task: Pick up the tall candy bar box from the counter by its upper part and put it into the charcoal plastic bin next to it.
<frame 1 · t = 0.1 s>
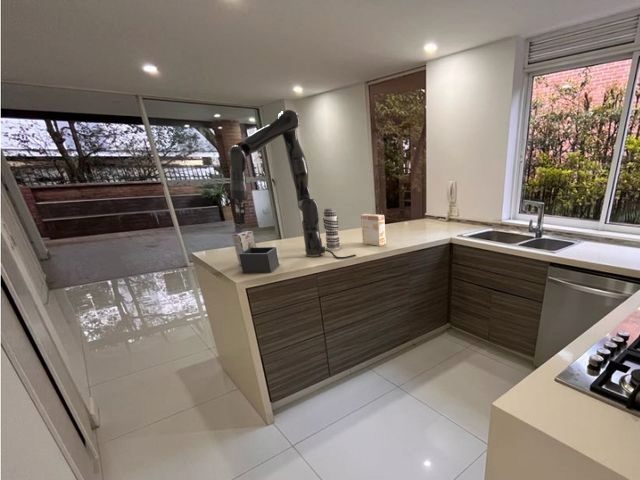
hand: (240, 222, 176), 22 cm above the counter, tool pointing down, fingers open, 8 cm apart
decorative candle: (333, 248, 220), on the counter
candy bar box: (249, 263, 188), on the counter
bin: (261, 268, 177), on the counter
coffeecake box: (374, 244, 232), on the counter
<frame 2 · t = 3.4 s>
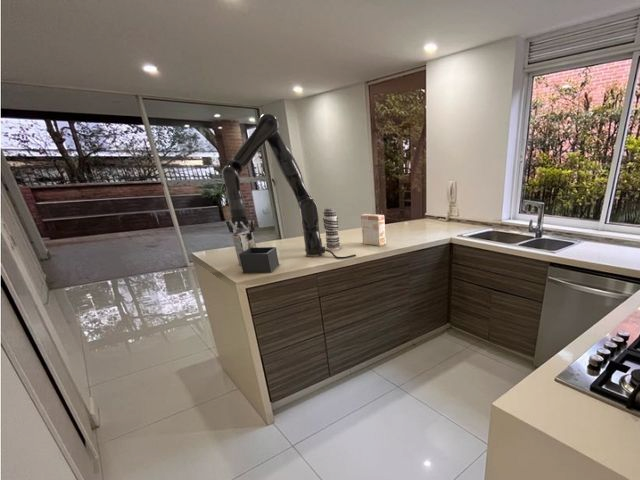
hand: (244, 240, 182), 13 cm above the counter, tool pointing down, fingers closed on candy bar box, 5 cm apart
candy bar box: (249, 263, 188), on the counter, touching gripper
everything else where it was.
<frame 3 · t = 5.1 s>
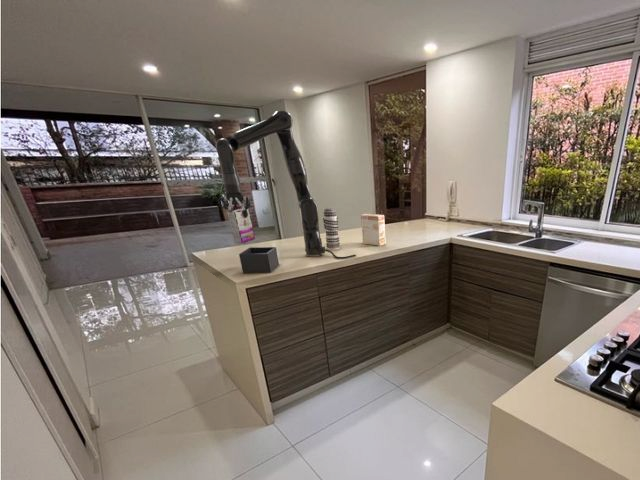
hand: (239, 217, 178), 25 cm above the counter, tool pointing down, fingers closed on candy bar box, 5 cm apart
candy bar box: (245, 241, 183), point 12 cm above the counter, touching gripper
everything else where it was.
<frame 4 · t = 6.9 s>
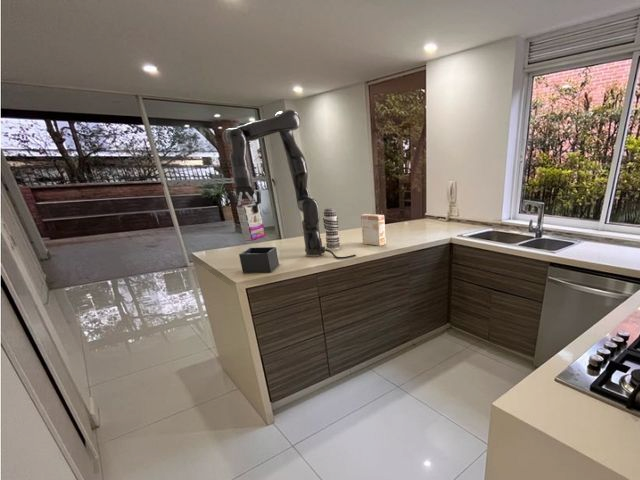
hand: (249, 213, 167), 28 cm above the counter, tool pointing down, fingers closed on candy bar box, 5 cm apart
candy bar box: (254, 239, 172), point 15 cm above the counter, touching gripper
everything else where it was.
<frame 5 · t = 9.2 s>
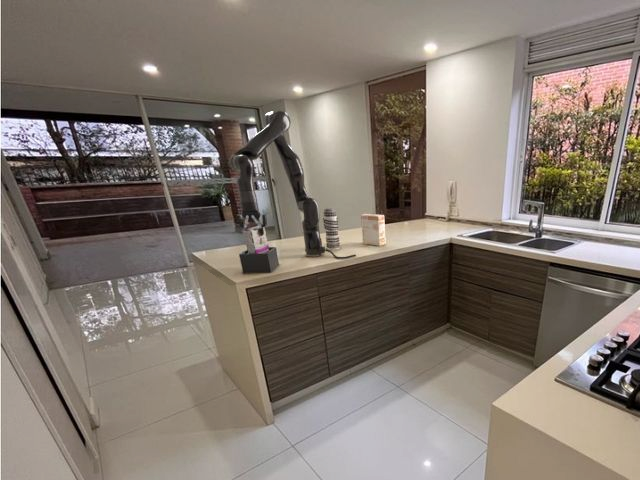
hand: (255, 235, 170), 17 cm above the counter, tool pointing down, fingers closed on candy bar box, 5 cm apart
candy bar box: (260, 260, 175), point 5 cm above the counter, touching gripper
everything else where it was.
when the fingers open (13 cm above the counter, at t = 10.9 s): candy bar box stays where it is, resting on bin.
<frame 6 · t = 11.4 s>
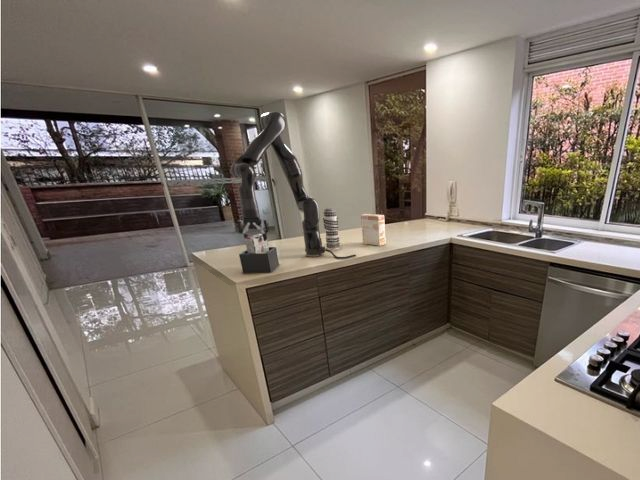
hand: (256, 241, 171), 15 cm above the counter, tool pointing down, fingers open, 8 cm apart
candy bar box: (261, 267, 177), point 1 cm above the counter, touching bin
everything else where it was.
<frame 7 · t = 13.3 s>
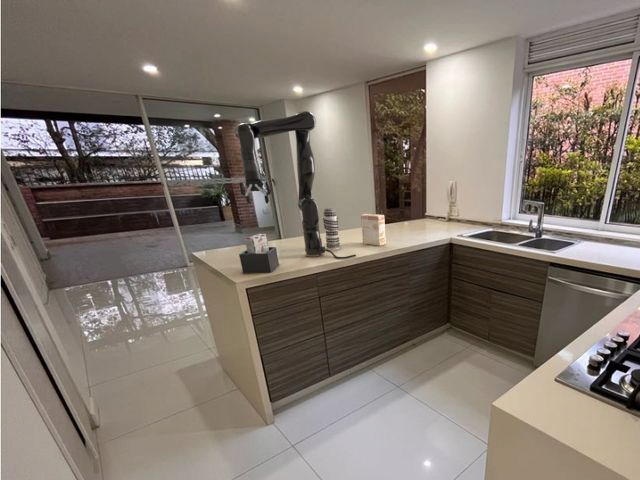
hand: (258, 203, 175), 31 cm above the counter, tool pointing down, fingers open, 8 cm apart
nothing on the counter moved.
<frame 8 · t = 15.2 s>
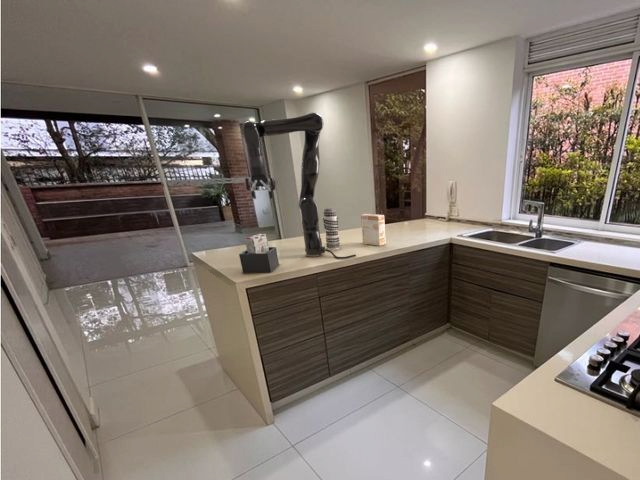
hand: (263, 198, 182), 33 cm above the counter, tool pointing down, fingers open, 8 cm apart
nothing on the counter moved.
at the end: candy bar box inside the target area in the bin (0.1 cm from its centre), point 0.6 cm above the bin's base; the gripper is holding nothing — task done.
